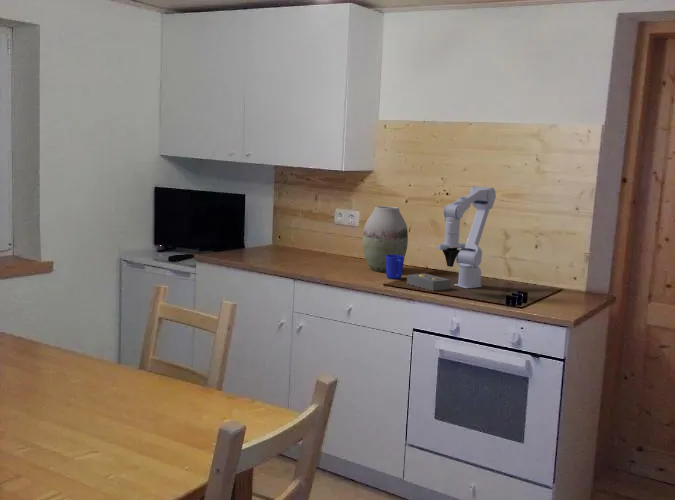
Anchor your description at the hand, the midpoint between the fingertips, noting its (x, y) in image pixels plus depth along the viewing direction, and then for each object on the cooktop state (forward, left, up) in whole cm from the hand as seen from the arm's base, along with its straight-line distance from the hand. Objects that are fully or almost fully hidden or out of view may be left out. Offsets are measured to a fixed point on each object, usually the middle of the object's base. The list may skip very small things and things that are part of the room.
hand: (449, 266), depth 300 cm
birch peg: (+1, -7, -10) cm, 12 cm away
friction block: (+1, -11, -10) cm, 15 cm away
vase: (-8, -51, -11) cm, 53 cm away
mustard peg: (+1, -15, -10) cm, 18 cm away
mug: (+2, -31, -11) cm, 33 cm away
